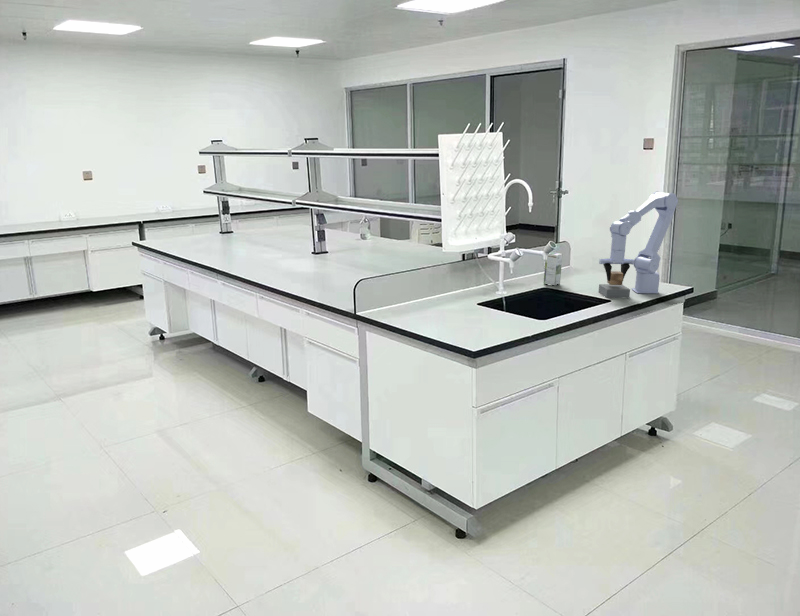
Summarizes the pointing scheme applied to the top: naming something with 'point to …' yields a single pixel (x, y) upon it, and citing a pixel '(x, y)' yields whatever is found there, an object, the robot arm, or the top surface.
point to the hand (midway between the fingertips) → (615, 280)
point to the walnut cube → (616, 278)
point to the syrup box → (553, 269)
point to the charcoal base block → (614, 291)
